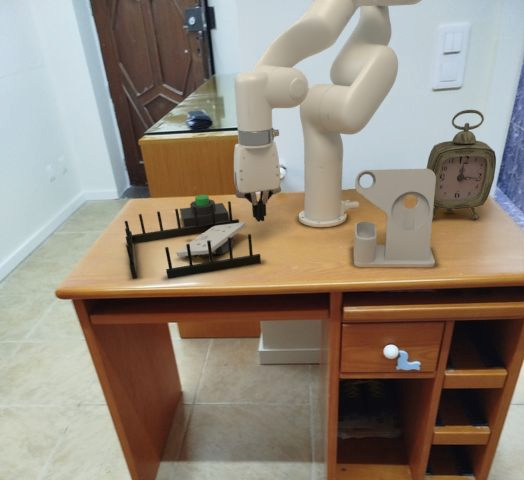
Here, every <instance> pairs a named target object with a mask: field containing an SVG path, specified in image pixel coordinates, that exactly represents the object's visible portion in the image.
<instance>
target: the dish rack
mask: <svg viewBox="0 0 524 480" xmlns="http://www.w3.org/2000/svg"><path fill="white" fill-rule="evenodd" d="M227 209H228V217H229V220H228V221H222V222H215V215H214V206H213V204H211V213H212V221H213V223H208V224H202V225H198V220H197V213H196V206H193V211H194V218H195V226H188V227H184V226H183V227H181V220H180V219H181V218H180V212H179V209H178V208H175V209H174V211H175V212H174V213H175V217H176V223H177V224H176V225H177V228H176V227H175V228H169V229H164V226H163V221H162V216H161V211H156V215H157V220H158V224H159V229H160V230H156V231H149V232H146V229H145V225H144V219H143V215H142V213H139V214H138V218H139V222H140V223H139V224H140V227H141V232H142V233H136V234H133V233H132V231H131V230H130V227H129V226H130V225H129V221H128V220H124V224H125V228H124V231H125V235H126V236H125V241H126V245H125V247H126V251H127V256H128V260H129V261H128V263H129V269H130V273H131V278H132V280H135V279H138V271H137V260H136V252H135V251H136V250H135V244H139V243H146V242H151V241H158V240H165V239H171V238H177V237H185V236H191V235H198V234H202V233H204V232H206V231H207V230H209V229H210V228H212V227H214V226H218V225H226V224H234V223H240V219H238V218H237V219H236V218H235V219H233V212H232V202H231V201H230V200H229V201H227ZM247 239H248V252H249V255H244V256H238V257H234V254H233V246H232V243H231V237H228V246H229V249H228V254H229V258H225V259H219V260H214V259H213V254H212V250H211V242H210V240H208V241H207V244H208V252H209V256H208V259H209V261H207V262H201V263H193V258H192V257H191V250H190V244H189V243H186V244H185V246H187V252H188V258H187V259H188V264H189V265H183V266H182V265H181V266H176V267H173V266H172V265H173V264H172V260H171V254H170V249H169V247H168V246H165V247H164V250H165V255H166V261H167V266H168V268H166V269H165V271H166V276H167V279H175V278H180V277H187V276H192V275H198V274H199V275H200V274H205V273H211V272H215V271H216V272H217V271H222V270H223V271H224V270H229V269H233V268H234V269H235V268H239V267H247V266H253V265H258V264H261V263H262V261H261V253H256V254H254V252H253V241H252V240H253V239H252V233H249V234H247Z"/></svg>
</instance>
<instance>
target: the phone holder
mask: <svg viewBox="0 0 524 480" xmlns="http://www.w3.org/2000/svg"><path fill="white" fill-rule="evenodd" d="M364 175H369V176H370V177H371V178H372V183H371V185H370V186H369V187H363V186H362V185H361V183H360V182H361V178H362V177H363V176H364ZM354 183H355V184H354V188H355V191H356V192H357V193H358V195H360V196H361V197H363V198H365V200H367V201H368V202H370V203H371V204H373V206H375V207H376V208H377V209H379V210H381V211H382V212H383V213H384V214H385V215H386V223H385V241H384V244H377V241H378V233H377V227H376V224H375V223H373V222H371V221H359V222H357V223H355V225H354V233H353V234H354V235H353V237H354V238H353V249H352V251H353V265H354V266H355V267H357V268H358V267H359V268H434V266H435V263H436V260H435V257H434V255H433V252H432V249H431V241H432V240H431V239H432V226H433V220H432V217H433V209H434V194H435V183H436V176H435V173H434V172H433V171H432V170H430V169H426V168H398V169H397V168H394V169H393V168H392V169H390V168H389V169H364V170H361V171H360V172H359V173H358V174H357V175H356V177H355V182H354ZM409 195H413V196H414V197H415V198H416V203H415V205H414V206H413V207H411V208H408V207H406V206H405V204H404V200H405V199H406V197H407V196H409Z"/></svg>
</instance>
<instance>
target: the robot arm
mask: <svg viewBox="0 0 524 480" xmlns="http://www.w3.org/2000/svg"><path fill="white" fill-rule="evenodd" d="M421 1H422V0H312V1H311V4H310V5H309V7H308V8H307V9H306V11H305V12H304V14H303V15H302V16H301V17H300V18H299V19H297V20H296V21H294V23H292V24H290V26H289V27H288V28H286V29H285V30H284V31H282V33H280V34H279V35H278V36H277V37H276V38H274V39H273V41H271V43H270V44H269V45H268V46H267V47H266V48H265V50H264V51H263V53H262V54H261V55H260V58H259V59H258V61H257V62H256V64H255V65H254V67H253V70H252V71H243V72H239V73H238V74H236V76H235V77H234V81H233V83H234V100H235V111H236V125H237V126H236V127H237V141H238V143H236V144H235V145H234V149H233V150H234V151H233V182H234V187H235V193H234V195H235V197H236V198H238V199H245V200H247V201H248V202H249V203H251V210H252V211H251V212H252V217H253V218H254V219H255V220H256V221H257V223H260V222H265V217H266V216H267V204H268V201H269V200H270V199H271V198H272V196H273V195H276V194H279V193H281V192H282V188H281V167H280V159H279V152H278V148H277V143H276V141H274V140H275V138H276V137H279V136H280V131H279V130H280V129H275V128H274V127H273V110H274V109H293V108H296V107H298V106H299V118H300V123H301V128H302V135H303V136H302V137H303V147H304V148H303V160H304V161H303V163H304V164H303V166H304V167H303V175H304V177H303V178H304V179H303V180H304V182H303V183H304V186H303V188H304V209H303V210H301V211H300V212H299V214H298V221H299V222H300V223H301V224H303V225H305V226H308V227H312V228H313V227H314V228H331V227H335V226H339V225H341V224H343V223H344V222H346V220H347V212H348V210H357V209H359V208H360V203H359V201H358V200H355V201H351V200H350V199H345V200H343V199H342V194H343V192H342V191H343V165H344V164H343V163H344V143H343V139H342V136H341V135H347V136H349V135H350V136H351V135H355V134H358V133H360V132H361V131H363V129H364V128H365V127H366V126H367V125H368V124H369V122H370V121H371V119H373V117H374V115H375V114H376V112H377V111H378V109H379V108H380V106H381V105H382V104H383V102H384V101H385V100H386V98H387V96H388V95H389V93H390V92H391V90H392V89H393V86H394V84H395V82H396V81H397V80H396V79H397V76H398V71H399V59H398V56H397V54H396V51H394V49H393V48H392V47H390V46H388V45H389V43H390V42H391V38H392V23H391V17H390V11H389V7H394V6H395V7H397V6H413V5H417V4H419V3H420V2H421ZM359 8H360V9H359ZM358 9H359V11H360V13H359V17H358V18H359V19H358V22H357V24H356V26H355V27H354V29H353V31H352V32H351V34H350V36H349V37H348V38H347V39H346V41H345V43H344V44H343V45H342V46H341V49H340V50H339V51H338V53H337V55H336V56H335V58H334V59H333V61H332V63H331V66H330V70H329V78H330V81H331V83H316V84H313V85H312V86H309V85H310V84H309V79H308V78H307V76H306V75H305V74H304V73H303V71H301V70H299V69H298V68H295V66H296V65H297V64H299V63H300V62H302V61H303V60H305V59H308V58H309V57H312V56H315V55H318V54H320V53H322V52H323V51H326V50H327V49H330V48H331V47H332V46H333V45H335V43H337V40H339V38H340V36H341V35H342V33H343V31H344V30H345V28H346V27H347V25H348V23H350V21H351V19H352V17H353V16H354V15H355V14H356V12H357V11H358ZM257 193H259V199H258V197H257Z"/></svg>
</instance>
